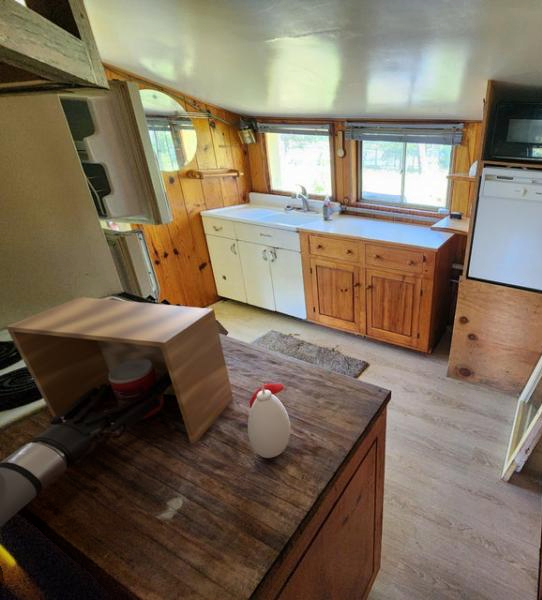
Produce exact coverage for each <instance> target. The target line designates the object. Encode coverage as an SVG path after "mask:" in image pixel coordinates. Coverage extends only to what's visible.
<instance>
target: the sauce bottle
mask: <svg viewBox="0 0 542 600" xmlns="http://www.w3.org/2000/svg"><path fill="white" fill-rule="evenodd" d="M260 385H261V386H260V387H262V391H260V392H259V393H258V394H257V398H256V399H255V401H254V403H253V405H252V407H251V408H250V410H249V413H248V419H247V437H248V440H249V443H250V446H251V448H252V449H253V451H254V452H255V453H256V454H257V455H259V456H260V457H262V458H266V459H272V458H274V457H278V456H279V455H281V454H282V453H284V451H285V450H286V448H287V446H288V444H289V441H290V439H291V438H290V437H291V422H290V417H289V413H288V411H287V409H286V408H285V406H284V404H283V403H282V401H281V400H280V399H279V398H278V397H277V396H275V394H274V395H273V394H271V391H269V390H264V385H265V384H264V383H263V382H261V384H260Z"/></svg>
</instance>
